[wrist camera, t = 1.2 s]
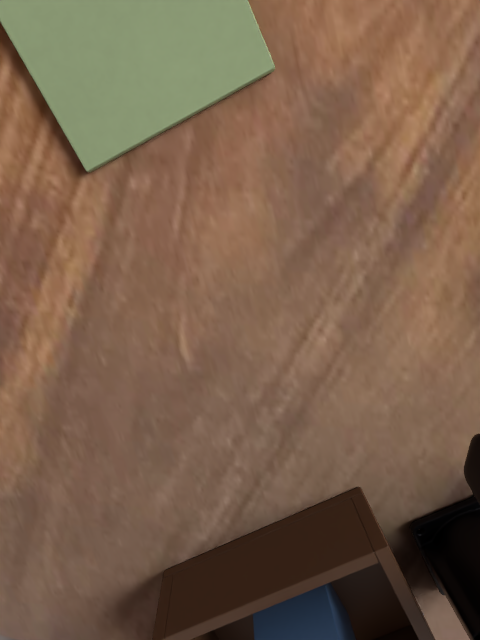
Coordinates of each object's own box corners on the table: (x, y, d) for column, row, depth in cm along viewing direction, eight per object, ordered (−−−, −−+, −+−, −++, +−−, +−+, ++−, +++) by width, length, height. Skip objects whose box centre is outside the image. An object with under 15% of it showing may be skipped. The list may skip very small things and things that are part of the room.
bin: (247, 686, 30) (251, 771, 25) (163, 570, 26) (151, 644, 22) (424, 617, 28) (461, 694, 24) (359, 485, 25) (388, 546, 20)
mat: (89, 173, 19) (86, 172, 19) (-25, -28, 17) (-33, -34, 16) (274, 71, 18) (275, 67, 18) (180, -156, 16) (178, -168, 16)
